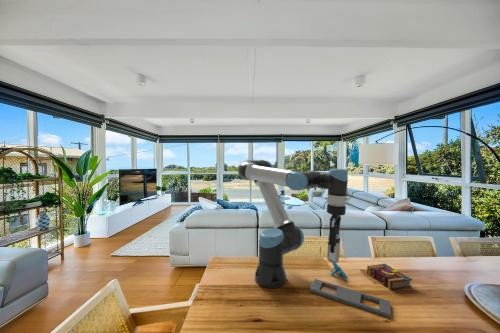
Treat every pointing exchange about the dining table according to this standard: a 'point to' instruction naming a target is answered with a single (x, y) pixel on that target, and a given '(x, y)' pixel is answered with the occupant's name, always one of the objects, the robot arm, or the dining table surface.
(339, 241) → the beer can
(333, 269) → the gear
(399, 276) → the decorative book
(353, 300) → the rail
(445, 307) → the dining table surface
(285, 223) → the robot arm
